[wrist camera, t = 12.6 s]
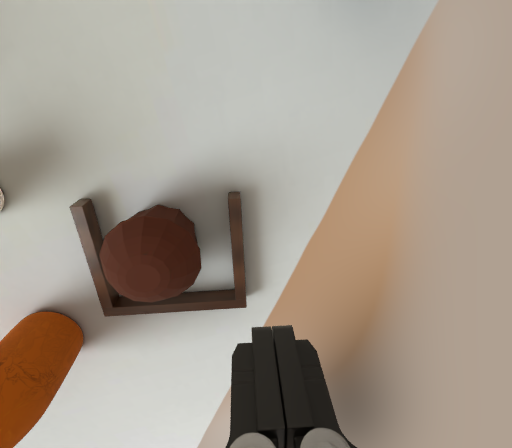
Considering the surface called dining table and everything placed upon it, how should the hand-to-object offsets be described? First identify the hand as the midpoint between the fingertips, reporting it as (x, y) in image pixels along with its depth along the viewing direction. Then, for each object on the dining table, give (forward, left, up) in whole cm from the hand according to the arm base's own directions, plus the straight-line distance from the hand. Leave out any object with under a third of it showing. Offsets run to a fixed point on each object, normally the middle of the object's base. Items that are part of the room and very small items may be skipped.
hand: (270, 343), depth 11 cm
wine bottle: (+25, -31, -29) cm, 49 cm away
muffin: (+9, -12, -29) cm, 32 cm away
